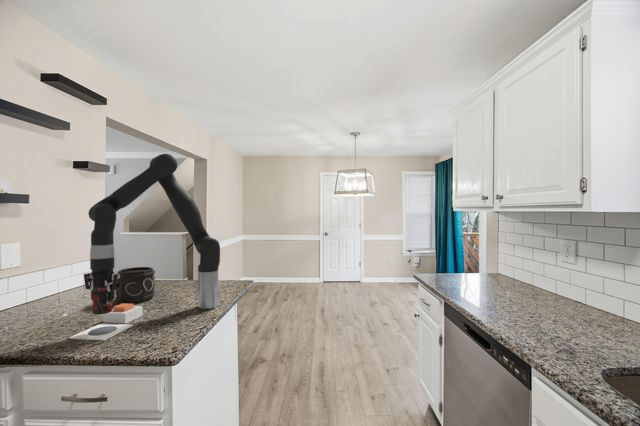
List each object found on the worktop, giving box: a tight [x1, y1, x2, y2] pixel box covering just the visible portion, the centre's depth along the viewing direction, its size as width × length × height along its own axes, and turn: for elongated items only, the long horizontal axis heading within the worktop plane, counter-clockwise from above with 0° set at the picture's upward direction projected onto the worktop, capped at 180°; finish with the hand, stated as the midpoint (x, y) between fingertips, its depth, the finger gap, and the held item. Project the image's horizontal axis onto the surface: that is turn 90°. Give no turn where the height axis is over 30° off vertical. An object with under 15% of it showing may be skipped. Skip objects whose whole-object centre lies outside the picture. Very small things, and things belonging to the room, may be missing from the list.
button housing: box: [102, 305, 144, 324], centre depth 130 cm, size 10×10×4 cm
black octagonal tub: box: [114, 266, 156, 305], centre depth 158 cm, size 18×18×16 cm
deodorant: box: [92, 273, 113, 316], centre depth 116 cm, size 6×6×15 cm
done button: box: [112, 303, 135, 312], centre depth 130 cm, size 5×5×3 cm
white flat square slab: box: [68, 322, 134, 341], centre depth 116 cm, size 14×14×1 cm
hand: (102, 300), depth 116 cm, fingers closed on deodorant, 6 cm apart
